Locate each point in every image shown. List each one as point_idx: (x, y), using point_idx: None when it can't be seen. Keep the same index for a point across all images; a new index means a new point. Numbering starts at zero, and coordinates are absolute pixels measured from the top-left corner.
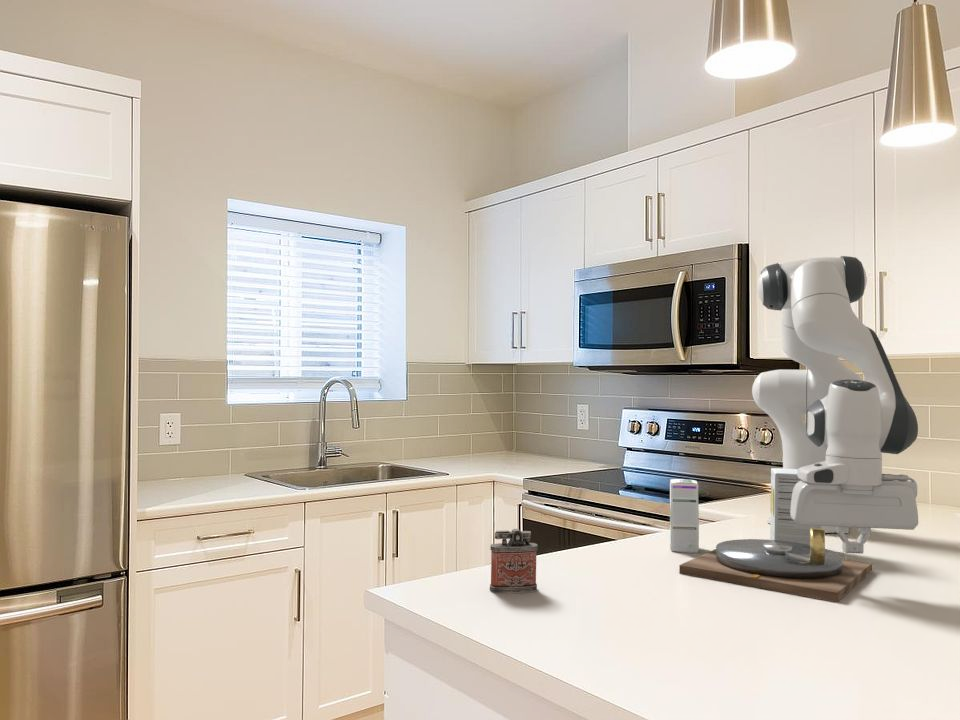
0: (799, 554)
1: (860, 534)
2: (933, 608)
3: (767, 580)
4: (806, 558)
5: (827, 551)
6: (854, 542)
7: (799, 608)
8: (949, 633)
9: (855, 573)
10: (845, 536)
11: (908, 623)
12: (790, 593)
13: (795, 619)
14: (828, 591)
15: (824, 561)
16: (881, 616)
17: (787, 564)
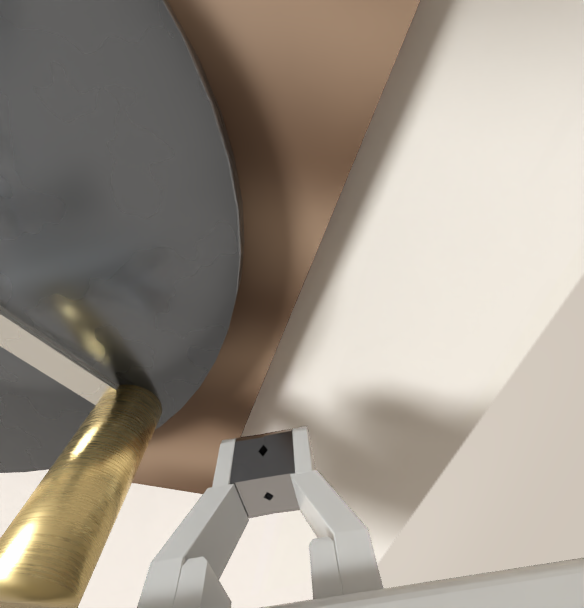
0: (7, 258)
1: (321, 522)
2: (430, 440)
3: None
4: (72, 374)
5: (147, 71)
6: (277, 494)
7: (145, 527)
8: (387, 545)
9: (294, 266)
10: (220, 568)
11: None
12: None
13: (148, 569)
14: (194, 492)
15: (156, 425)
16: (298, 515)
17: (30, 458)
